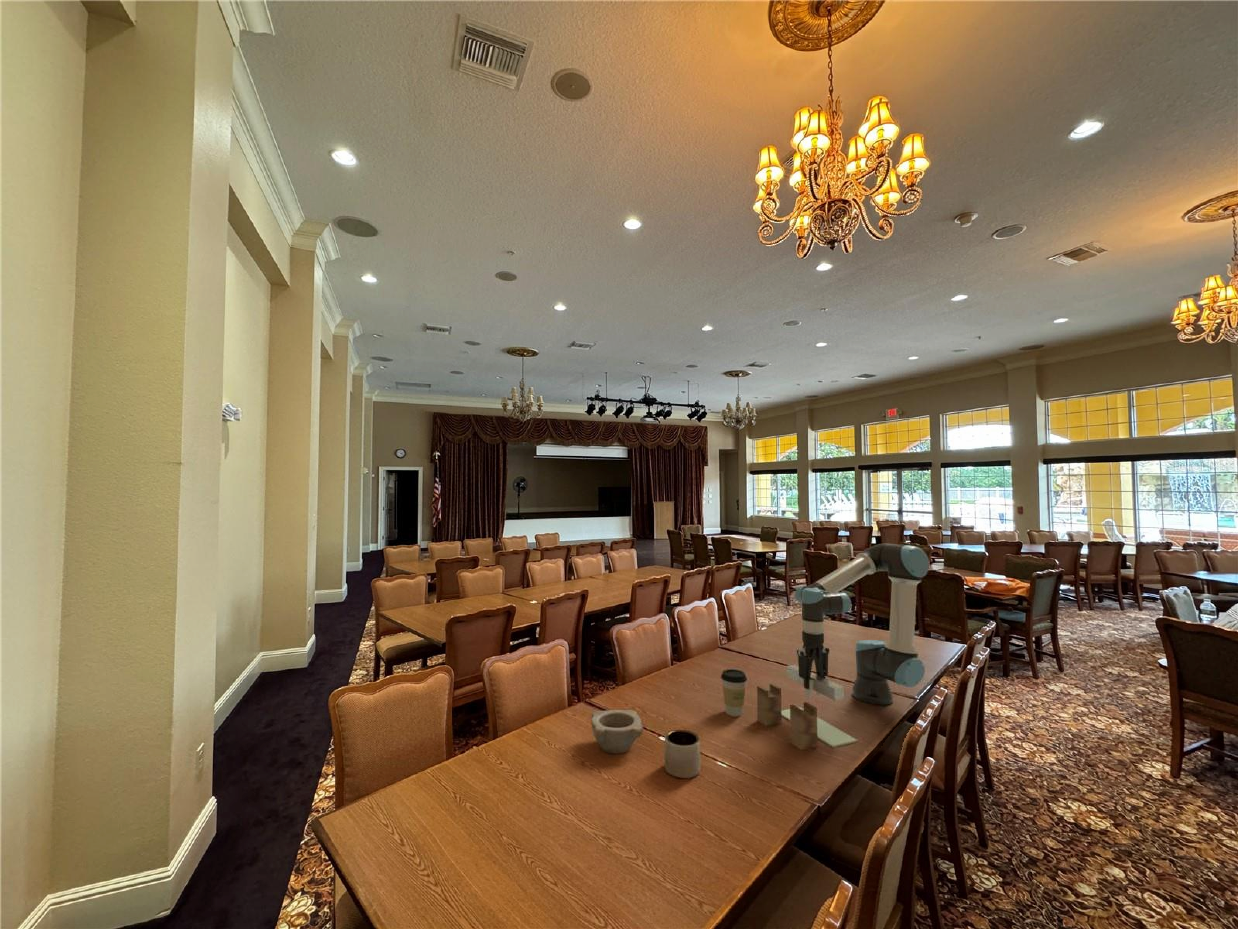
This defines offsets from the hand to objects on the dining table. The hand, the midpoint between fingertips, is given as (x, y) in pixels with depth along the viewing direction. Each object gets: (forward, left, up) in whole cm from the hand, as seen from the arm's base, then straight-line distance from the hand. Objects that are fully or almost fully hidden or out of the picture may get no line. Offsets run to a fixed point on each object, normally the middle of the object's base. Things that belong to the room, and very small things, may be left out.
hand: (813, 696), depth 179 cm
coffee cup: (+21, -20, -11) cm, 31 cm away
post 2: (+13, +9, -11) cm, 19 cm away
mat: (0, 0, -11) cm, 11 cm away
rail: (0, 0, +3) cm, 3 cm away
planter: (+59, +8, -11) cm, 60 cm away
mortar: (+73, -12, -11) cm, 75 cm away
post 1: (+13, -9, -11) cm, 19 cm away
